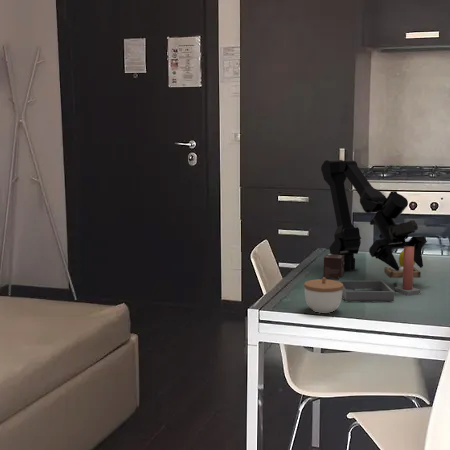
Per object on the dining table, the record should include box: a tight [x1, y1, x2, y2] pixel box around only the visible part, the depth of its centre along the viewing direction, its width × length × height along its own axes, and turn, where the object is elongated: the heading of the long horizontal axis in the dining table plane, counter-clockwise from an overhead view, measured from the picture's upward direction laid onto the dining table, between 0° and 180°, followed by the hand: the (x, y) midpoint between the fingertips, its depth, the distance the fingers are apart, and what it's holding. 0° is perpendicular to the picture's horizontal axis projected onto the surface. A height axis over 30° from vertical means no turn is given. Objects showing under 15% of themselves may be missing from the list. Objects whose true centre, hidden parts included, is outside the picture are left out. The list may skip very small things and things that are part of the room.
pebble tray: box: [383, 266, 422, 278], centre depth 239 cm, size 10×8×2 cm
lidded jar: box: [303, 277, 343, 313], centre depth 198 cm, size 11×11×9 cm
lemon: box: [398, 249, 416, 267], centre depth 248 cm, size 6×6×8 cm
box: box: [322, 253, 345, 280], centre depth 239 cm, size 6×6×7 cm
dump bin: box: [338, 280, 395, 302], centre depth 214 cm, size 14×14×3 cm
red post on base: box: [393, 246, 421, 296], centre depth 218 cm, size 6×5×14 cm
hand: (410, 268), depth 217 cm, fingers open, 9 cm apart
